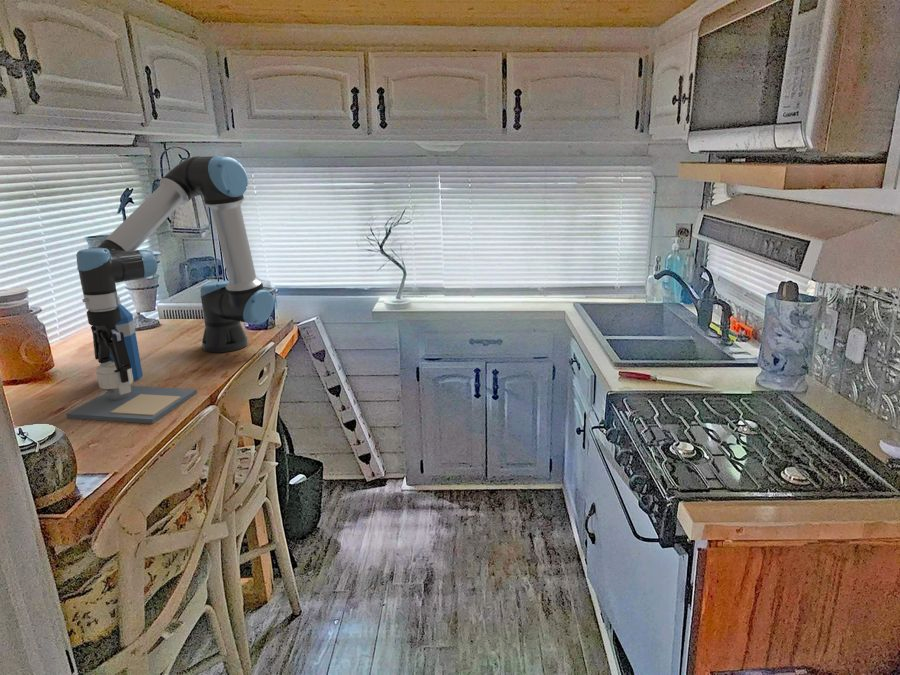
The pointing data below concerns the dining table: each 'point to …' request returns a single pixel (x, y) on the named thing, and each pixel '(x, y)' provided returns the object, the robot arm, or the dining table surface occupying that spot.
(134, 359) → the water bottle
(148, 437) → the dining table surface
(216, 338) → the robot arm
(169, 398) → the board
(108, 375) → the cap
